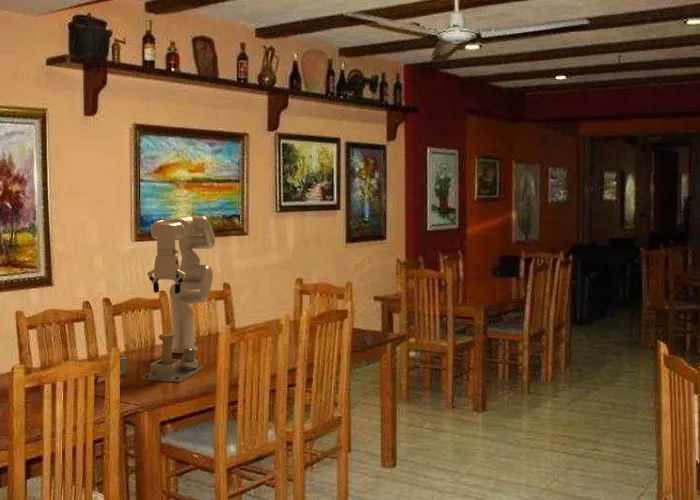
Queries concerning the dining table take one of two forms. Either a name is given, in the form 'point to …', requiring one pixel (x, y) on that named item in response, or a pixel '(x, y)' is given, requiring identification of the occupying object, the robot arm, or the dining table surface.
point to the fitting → (174, 368)
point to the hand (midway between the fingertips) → (166, 292)
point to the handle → (166, 348)
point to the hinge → (122, 365)
